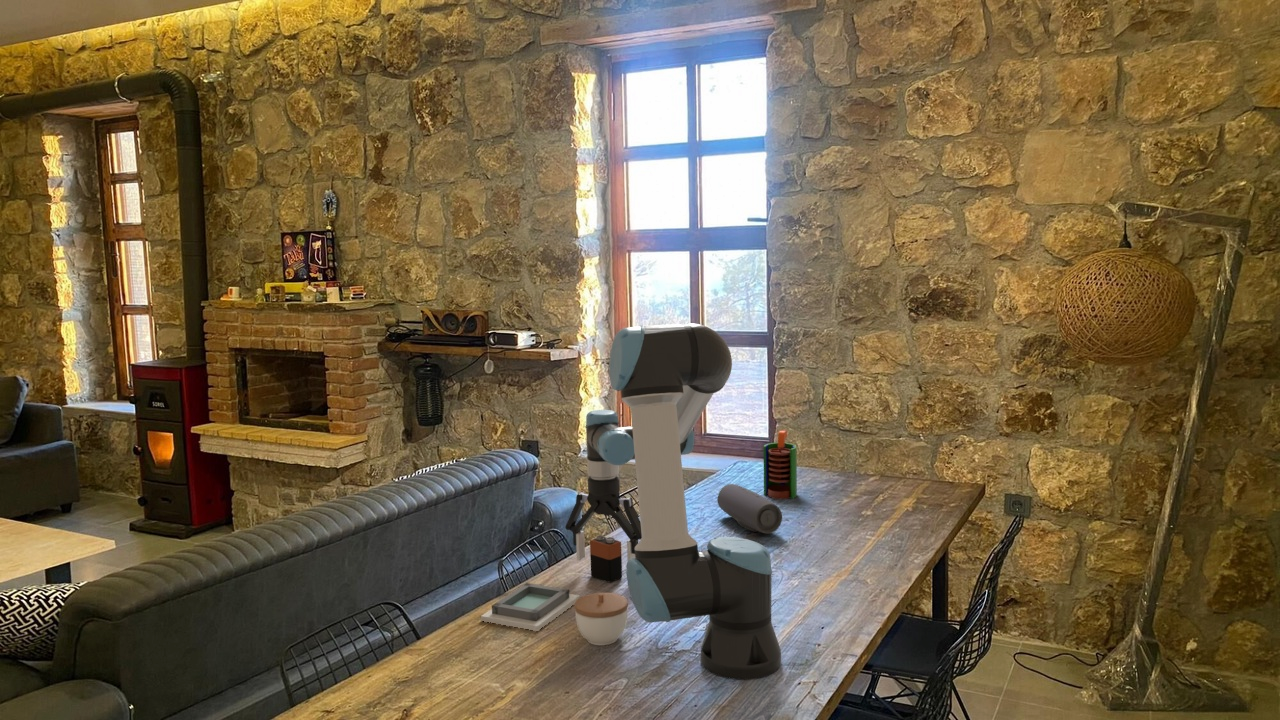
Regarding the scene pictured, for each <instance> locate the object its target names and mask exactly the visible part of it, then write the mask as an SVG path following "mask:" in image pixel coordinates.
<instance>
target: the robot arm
mask: <svg viewBox="0 0 1280 720" xmlns="http://www.w3.org/2000/svg"><path fill="white" fill-rule="evenodd" d="M732 368H733V358H732V353H731V350H730V348H729V346H728V343H727V342H726V341H725V340H724V338H723V336H721V335H720V334H719V333H718V332H717V331H715V330H714V329H712V328H710V327H709V326H705V325H703V324H699V323H686V324H655V325H654V324H652V325H649V324H648V325H645V324H644V325H643V324H642V325H639V326H636V325H635V326H629V327H624V328H621V329H620V330H618V331H617V333H616V334H615V336H614V338H613V341H612V345H611V348H610V357H609V370H608V371H609V380H610V385H611V388H612V389H613V390H614V391H617V392H620V393H621V394H620V395H621V401H622V402H623V403H624V404H625V405H627V406H628V407H629V409H630V416H631V425H630V426H629V425H628V426H619V424H620V421H619V415H618V413H617V412H616V411H615V410H611V409H597V410H596V409H595V410H592V411H589V412H587V414H586V416H585V417H586V418H585V420H586V421H585V426H584V427H585V433H586V434H585V435H586V463H587V465H586V466H587V467H586V469H587V472H586V473H587V475H588V477H587V491H588V493H586V492H585V491H581V492H579V493H577V494H576V497H575V499H576V500H575V504H574V506H573V509H572V511H571V514H570V516H569V517H568V519H567V522H566V525H565V529H566V530H567V531H571V532H572V537H573V538H572V541H573V546H576V547H575V548H576V561H581V560H583V559H584V558H585V557H586V550H585V546H586V545H585V531H584V530H582V529H583V528H584V527H585V525H587V523H588V521H590V520H591V518H592V517H593V516H594V515H595V514H596V515H598V516H599V515H603V516H607V517H608V516H611V518H612V519H614V520H615V521H616V522H617V524H618V525H619V526H620V528H621V529H622V531H623V532H624V533H625V535H626V536H627V537H628V540H627V541H626V553H627V555H626V556H627V557H626V558H627V560H626V561H627V562H626V564H625V565H626V566H625V567H626V572H625V573H626V580H627V587H628V590H629V593H630V598H631V600H632V601H631V602H632V603H633V605H634V608H635V611H636V612H637V614H638V615H639V617H640V618H641V619H642V620H643V621H644V622H646V623H660V622H661V623H663V622H665V623H670V622H671V621H676V620H683V619H690V618H691V619H692V618H699V617H705V616H708V617H709V618H708V619H709V621H708V624H707V628H706V631H705V634H704V637H703V640H702V644H701V647H700V663H701V666H702V667H703V668H704V670H706V671H707V672H709V673H711V674H713V675H715V676H718V677H722V678H726V679H732V680H754V679H760V678H764V677H767V676H771V675H772V674H773V673H775V672H777V671H778V669H779V670H780V668H781V664H782V650H781V647H780V643H779V640H778V638H777V635H776V632H775V629H774V626H773V623H772V574H773V569H772V564H771V562H772V560H771V559H772V558H771V553H770V551H769V550H768V548H766V546H764V545H762V544H761V543H759V542H757V541H753V540H751V539H746V538H742V537H733V536H720V537H714V538H711V539H710V540H709V541H708V544H707V545H706V548H707V549H706V550H699V547H698V545H699V544H698V541H697V540H695V539H694V538H693V537H692V536H691V535H690V534H689V529H688V528H689V527H688V519H687V518H688V517H687V507H686V496H685V486H684V485H685V484H684V474H683V464H682V456H683V455H690V454H691V453H692V452H693V451H694V448H695V447H694V446H695V445H694V444H695V441H696V440H695V439H696V438H695V432H694V428H695V426H696V423H698V421H699V419H700V417H701V415H702V414H703V412H704V410H705V409H706V407H707V405H708V404H709V403H710V400H711V398H712V397H713V395H714V394H716V393H718V392H720V391H721V390H722V389H723V388H724V386H725V385H726V383H727V382H728V380H729V378H730V376H731V373H732ZM631 461H635V462H634V463H635V465H634V466H635V475H636V476H635V477H636V483H637V484H636V485H637V486H636V487H637V498H638V508H639V515H638V514H637V512H636V510H635V507H634V503H633V502H634V501H633V498H632V497H631V496H628V497H626V498H625V497H624V498H622V497H621V495H620V492H621V491H620V490H621V485H620V484H621V483H620V482H621V480H620V476H619V475H620V466H622V465H625V464H627V463H629V462H631ZM586 502H587V503H588V504H589V505H590V507H588V509H587V510H586V511H585V513H584V514H583V516H582V517H581V518H580V519H579V517H580V515H581V512H582V510H583V508H584V505H585V503H586ZM620 505H621V507H622V508H624V509H623V510H624V511H623V510H622V508H621V507H620ZM623 512H625V514H624V513H623ZM625 515H626V516H627V517H626V516H625ZM578 519H579V521H578Z"/></svg>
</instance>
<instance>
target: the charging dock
mask: <svg viewBox="0 0 1280 720" xmlns="http://www.w3.org/2000/svg"><path fill="white" fill-rule="evenodd" d="M579 598H580V595H579V594H574V593H570V589H566V588H560V587H553V586H547V585H542V584H541V585H540V584H534V583H529V582H526V583H525V584H524V585H521V586H520V587H518V588H516V589H515V590H514V591H512V592H511V593H509V594H508V595H506V596H504V597H503V598H501V599H500V600H498V601H497V602H495V603H493V604H492V605H491V609H489V610H488V611H487V612H484V614H482V615H480V622H482V621H484V623H487V622H489V624H492V623H496V624H495V625H498V624H501V625H500V626H503V625H506V626H505V627H509V626H513V627H512V628H514V627H518V628H517V629H520V628H524V629H523V630H525V629H529V630H528V631H530V630H533V631H532V632H536V631H538V632H539V631H541V630H542V629H543V628H545V627H546V626H547V625H549V624H550V623H551V622H553V621H554V620H556V619H557V618H559V615H560V614H561V615H563V614H564V613H565V612H566V611H568V610H569V609H570V608H571V606H572V605H573V606H574V604H575V602H576V600H577V599H579ZM573 606H572V607H573ZM568 608H569V609H568ZM567 609H568V610H567ZM564 611H565V612H564ZM563 612H564V613H563ZM561 615H560V616H561ZM556 617H557V618H556ZM553 619H554V620H553ZM552 620H553V621H552ZM490 622H491V623H490ZM549 622H550V623H549ZM548 623H549V624H548ZM546 624H547V625H546ZM545 625H546V626H545ZM544 626H545V627H544ZM542 627H543V628H542ZM541 628H542V629H541ZM540 629H541V630H540Z"/></svg>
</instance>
